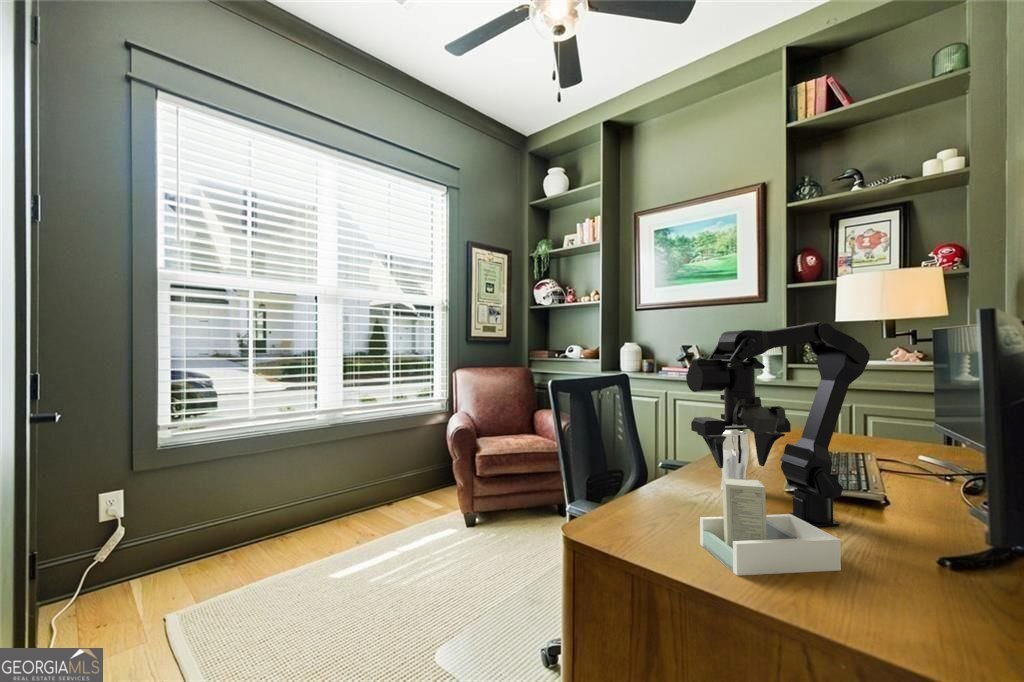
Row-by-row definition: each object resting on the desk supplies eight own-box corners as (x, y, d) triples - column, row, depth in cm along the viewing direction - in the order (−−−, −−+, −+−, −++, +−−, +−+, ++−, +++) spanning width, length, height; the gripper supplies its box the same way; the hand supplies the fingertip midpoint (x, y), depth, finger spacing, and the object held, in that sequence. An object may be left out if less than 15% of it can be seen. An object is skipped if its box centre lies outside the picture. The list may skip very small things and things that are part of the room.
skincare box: (761, 549, 76) (760, 479, 76) (768, 560, 71) (767, 486, 72) (722, 544, 77) (721, 476, 78) (726, 555, 73) (725, 483, 74)
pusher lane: (790, 540, 81) (790, 514, 81) (840, 570, 70) (840, 539, 70) (700, 544, 79) (699, 517, 79) (736, 575, 68) (736, 543, 68)
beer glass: (753, 496, 106) (752, 435, 106) (722, 494, 107) (722, 434, 108) (743, 487, 113) (743, 430, 113) (715, 485, 114) (715, 429, 114)
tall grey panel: (763, 539, 79) (763, 518, 79) (797, 561, 71) (796, 537, 71) (758, 539, 79) (758, 518, 79) (791, 561, 71) (791, 537, 71)
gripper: (721, 396, 79) (723, 480, 79) (812, 393, 82) (814, 475, 81) (689, 390, 90) (690, 464, 90) (769, 388, 93) (771, 460, 92)
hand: (741, 466), depth 88 cm, fingers open, 9 cm apart
